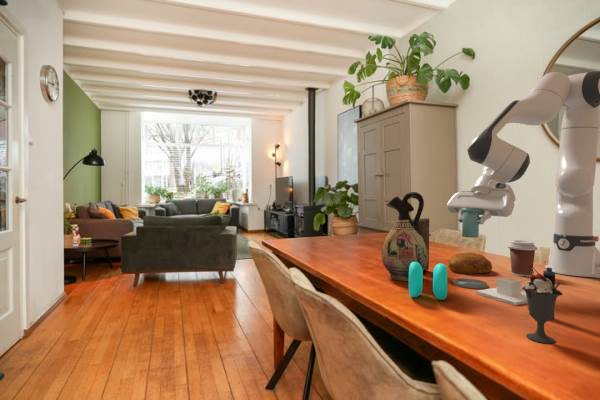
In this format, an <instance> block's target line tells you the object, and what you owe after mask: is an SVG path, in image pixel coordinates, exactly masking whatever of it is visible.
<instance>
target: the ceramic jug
mask: <svg viewBox="0 0 600 400" xmlns="http://www.w3.org/2000/svg"><path fill="white" fill-rule="evenodd" d="M409 199H415V200H417V201H418V207H417V210H416V214H415V216H414V218H413V219H414V221H412V220H411V219H412V217H411V216H410V213H411V212H414V210H415V208H414V206H413V205H412V204H411V203H410V202H409ZM424 206H425V200H424V198H423V196H422V194H420V193H419V192H416V191H411V192H408V193H406V194H405V195H404V196H403V198H402V199H400V197H399V196H394V197H393V198H392V199H391V200H390V201H389V202H387V204H386V207H388V208H391V209H393V210H396V211H397V212H398V216H397V217H398V219H397V220H396V222H395V223H394V224H393V226H392V227H391V228H390V230H389V231H388V234H387V235H386V237H385V239H384V242H383V244H382V249H381V262H382V264H383V266H384V268H385V269H386V270H387V272H388V273H389V275H390V276H389V277H390V278H391V279H393V280H395V281H396V280H397V281H401V282H403V281H404V282H409V266H410V264H411V263H412V262H418V263H419V264H420V265H421V267H422V270H424V269H425V267H426V265H427V261H428V253H427V248H426V244H425V242H424V240H423V238H422V236H421V232H420V228H419V225H418V221H419V219H420V218H421V216H422V213H423V210H424ZM424 271H425V270H424Z"/></svg>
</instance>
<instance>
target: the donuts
mask: <svg viewBox="0 0 600 400" xmlns="http://www.w3.org/2000/svg"><path fill="white" fill-rule="evenodd" d="M423 272H424V271H423V270H422V267H421V265H420V264H419V263H418V262H412V263H411V264H410V266H409V281H408V293H409V295H410V296H411V297H412V298H418V297H420V295H421V294H422V292H423V286H424V285H423V283H424V282H423V280H424V278H423V277H424V276H423V275H424V274H423ZM432 273H433V275H432V292H433V295H434V296H435V298H436V299H438V300H440V301H442V300H445V299H446V298H447V296H448V268H447V265H445V264H444V263H437V264H436V265H435V266H434V267H433V271H432Z"/></svg>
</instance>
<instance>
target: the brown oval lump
mask: <svg viewBox="0 0 600 400" xmlns="http://www.w3.org/2000/svg"><path fill="white" fill-rule="evenodd" d="M448 268H449V270H450V271H452V272H453V273H456V274H485V273H486V274H487V273H489V272H491V271H492V269H493V266H492V262H491V261H490V260H489V259H487V258H486V256H484V255H483V254H480V253H476V252H468V251H467V252H462V253H455V254H454V255H453V256H451V257H450V259H449V260H448Z"/></svg>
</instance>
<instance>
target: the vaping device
mask: <svg viewBox="0 0 600 400" xmlns="http://www.w3.org/2000/svg"><path fill="white" fill-rule="evenodd" d="M542 276H543V277H546V278H548V279H549V280H550V281H551V282H552V285H553V288H555V287H556V273H555V272H552V268H546V270H543V273H542ZM554 318H555V312H554V313H553V317H552V319H551V320H554Z"/></svg>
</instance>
